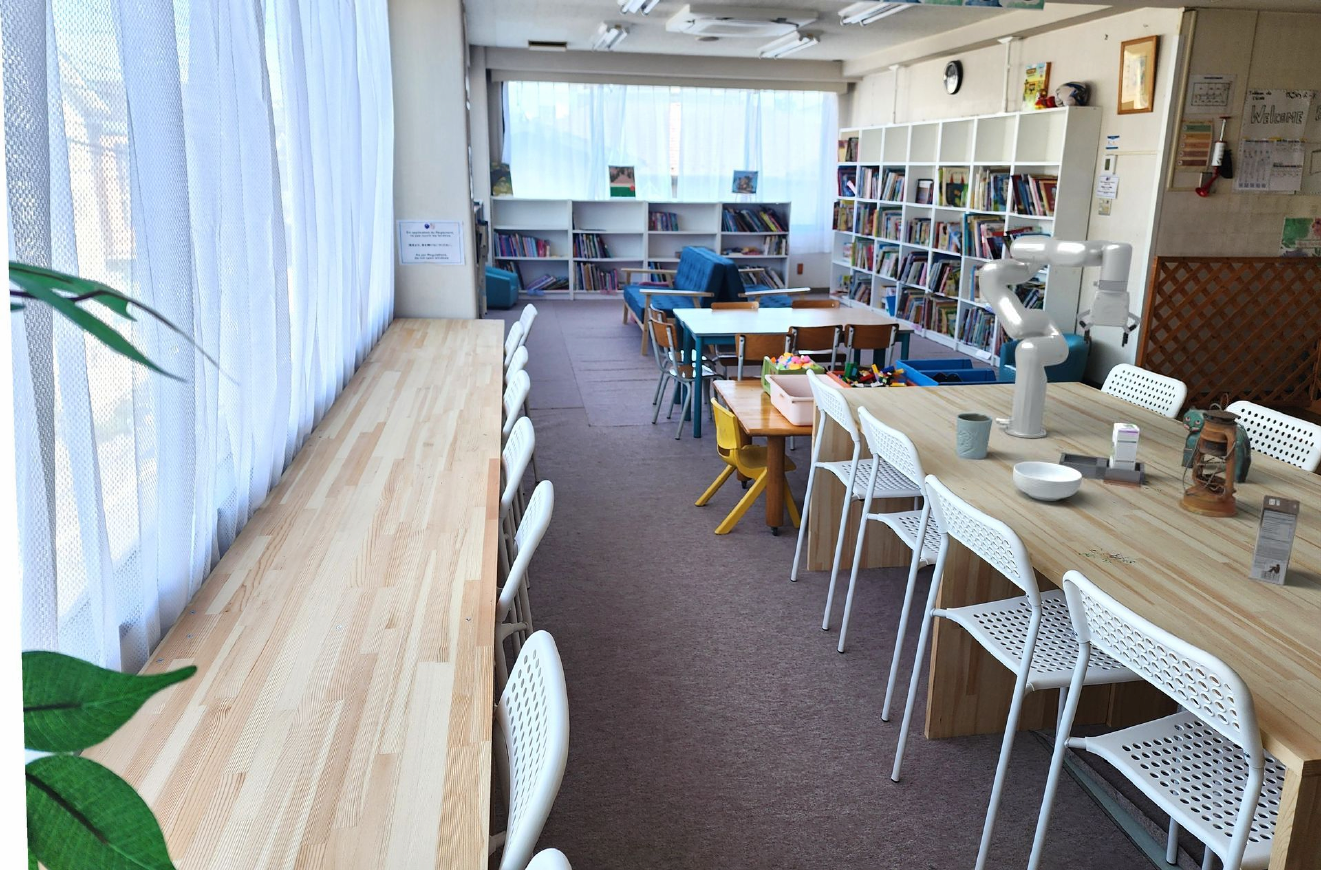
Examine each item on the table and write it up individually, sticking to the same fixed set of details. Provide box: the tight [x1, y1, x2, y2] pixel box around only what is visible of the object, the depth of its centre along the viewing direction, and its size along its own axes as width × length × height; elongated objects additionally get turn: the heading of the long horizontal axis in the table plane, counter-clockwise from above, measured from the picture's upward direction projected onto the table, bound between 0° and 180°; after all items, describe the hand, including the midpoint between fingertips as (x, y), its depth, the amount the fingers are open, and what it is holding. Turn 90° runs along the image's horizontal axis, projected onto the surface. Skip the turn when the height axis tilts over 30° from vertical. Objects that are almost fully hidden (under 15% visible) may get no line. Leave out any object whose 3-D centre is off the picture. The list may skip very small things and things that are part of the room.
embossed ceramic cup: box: [955, 412, 993, 460], centre depth 279 cm, size 10×10×12 cm
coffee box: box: [1249, 494, 1301, 586], centre depth 196 cm, size 9×6×16 cm
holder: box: [1058, 452, 1146, 489], centre depth 262 cm, size 22×14×4 cm, turn 64°
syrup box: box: [1109, 422, 1141, 471], centre depth 260 cm, size 6×6×14 cm
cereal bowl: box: [1012, 461, 1083, 502], centre depth 245 cm, size 17×17×7 cm
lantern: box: [1178, 393, 1240, 518], centre depth 233 cm, size 17×13×30 cm
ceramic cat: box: [1181, 403, 1252, 484], centre depth 263 cm, size 20×6×20 cm, turn 22°
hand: (1104, 345), depth 274 cm, fingers open, 9 cm apart
